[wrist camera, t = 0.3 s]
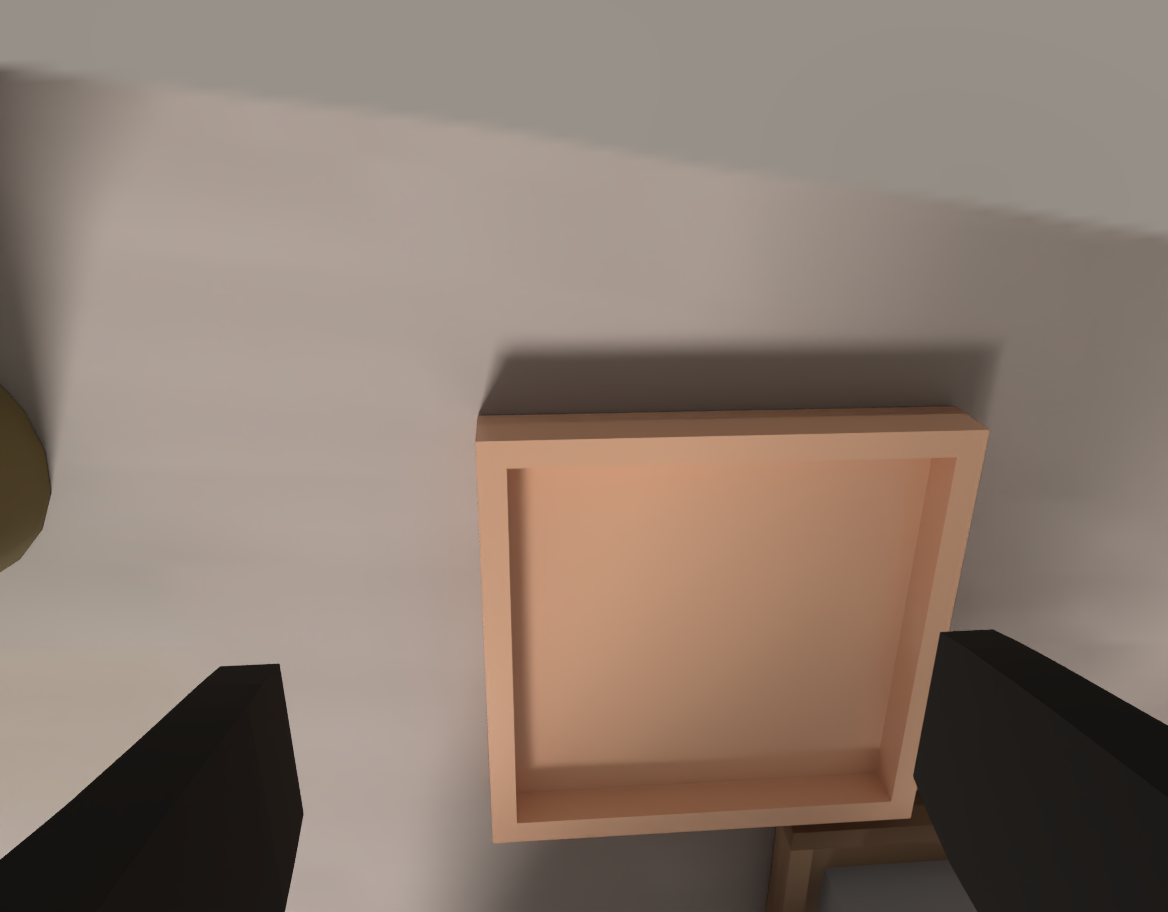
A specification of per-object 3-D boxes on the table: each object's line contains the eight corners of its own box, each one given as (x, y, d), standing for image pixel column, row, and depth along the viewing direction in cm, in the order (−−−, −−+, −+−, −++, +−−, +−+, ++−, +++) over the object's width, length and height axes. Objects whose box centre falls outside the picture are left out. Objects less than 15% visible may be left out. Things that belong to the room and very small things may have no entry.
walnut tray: (1217, 967, 28) (1246, 1004, 26) (754, 1003, 26) (764, 1042, 25) (1301, 768, 24) (1338, 800, 23) (779, 798, 23) (793, 833, 22)
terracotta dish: (886, 775, 23) (910, 818, 22) (493, 797, 22) (492, 843, 21) (954, 406, 19) (990, 429, 18) (477, 415, 18) (475, 441, 17)
